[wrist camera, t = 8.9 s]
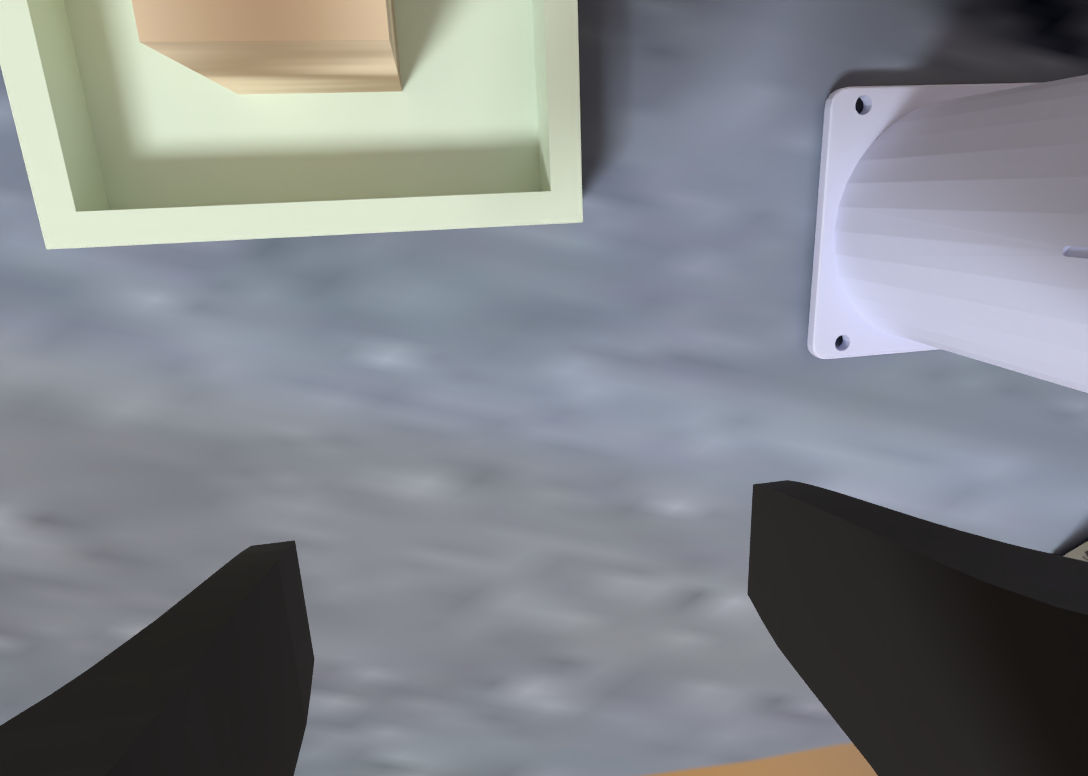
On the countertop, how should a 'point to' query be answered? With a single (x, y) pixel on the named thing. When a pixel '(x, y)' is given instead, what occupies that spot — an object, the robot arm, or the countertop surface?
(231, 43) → the block
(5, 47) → the tray
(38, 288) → the countertop surface
